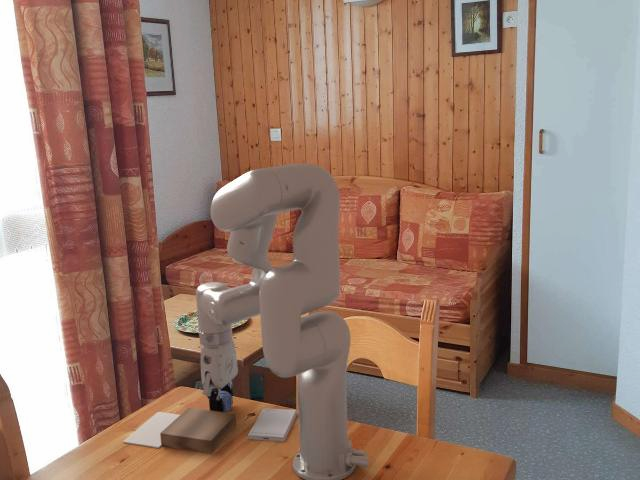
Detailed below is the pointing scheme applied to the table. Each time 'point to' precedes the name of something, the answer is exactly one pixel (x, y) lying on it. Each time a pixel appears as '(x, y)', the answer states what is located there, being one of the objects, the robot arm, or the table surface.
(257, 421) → the hard drive
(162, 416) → the mat
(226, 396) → the decorative dice
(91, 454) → the table surface
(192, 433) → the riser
